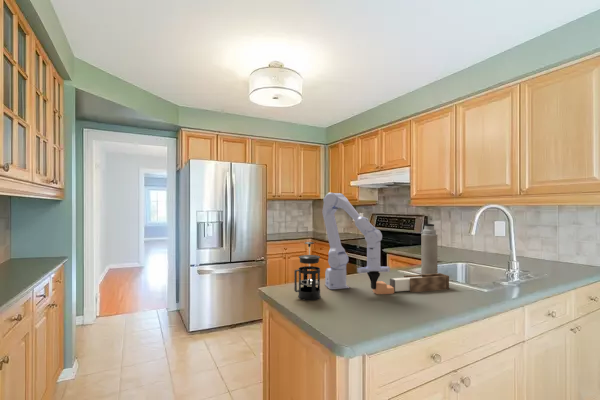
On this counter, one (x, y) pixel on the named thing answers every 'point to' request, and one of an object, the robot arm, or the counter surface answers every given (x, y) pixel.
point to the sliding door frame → (428, 282)
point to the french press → (309, 287)
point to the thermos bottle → (429, 250)
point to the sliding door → (401, 283)
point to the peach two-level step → (383, 288)
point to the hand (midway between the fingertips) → (373, 288)
